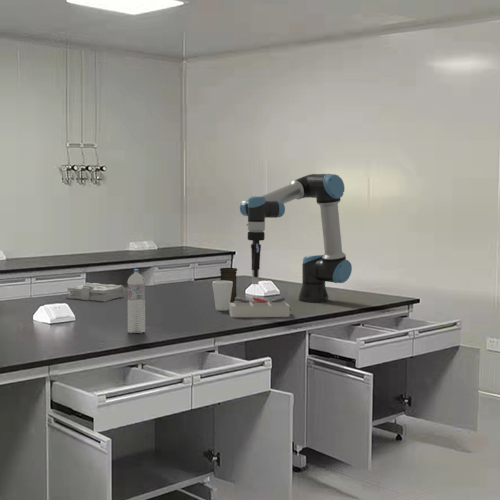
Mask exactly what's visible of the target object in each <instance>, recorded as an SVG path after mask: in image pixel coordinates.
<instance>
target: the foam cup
mask: <svg viewBox="0 0 500 500" xmlns="http://www.w3.org/2000/svg"><path fill="white" fill-rule="evenodd" d="M232 287H233V282H232V281H221V280H214V281H212V289H213V291H212V292H213V297H214V306H215V310H216V311H229V303H230V300H231V293H232Z"/></svg>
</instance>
